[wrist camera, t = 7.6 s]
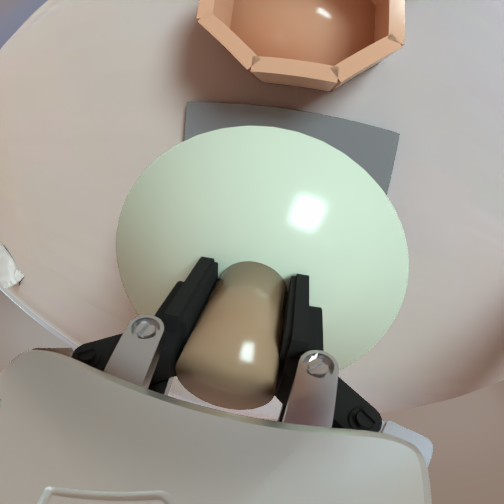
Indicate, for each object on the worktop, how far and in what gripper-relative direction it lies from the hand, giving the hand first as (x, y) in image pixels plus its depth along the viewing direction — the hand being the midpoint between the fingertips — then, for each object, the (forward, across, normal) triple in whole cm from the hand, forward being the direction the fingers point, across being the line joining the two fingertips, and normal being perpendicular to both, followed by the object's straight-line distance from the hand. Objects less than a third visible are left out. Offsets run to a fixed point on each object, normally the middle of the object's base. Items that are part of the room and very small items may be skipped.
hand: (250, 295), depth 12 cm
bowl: (+11, 0, -16) cm, 20 cm away
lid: (+1, 0, 0) cm, 1 cm away
